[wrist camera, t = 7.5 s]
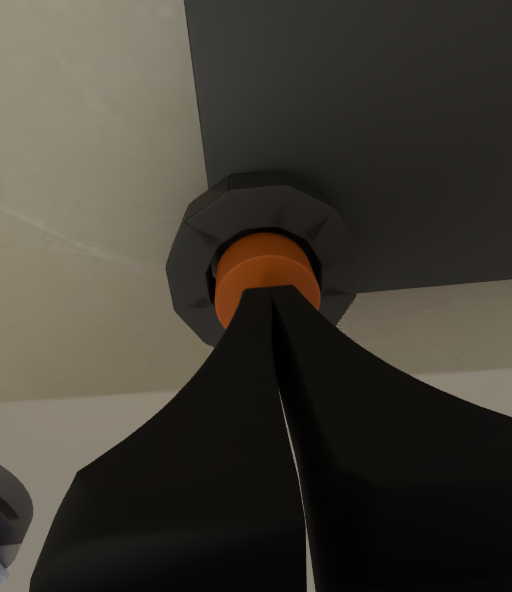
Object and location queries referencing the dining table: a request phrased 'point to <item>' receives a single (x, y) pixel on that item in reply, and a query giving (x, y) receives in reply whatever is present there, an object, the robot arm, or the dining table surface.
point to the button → (261, 271)
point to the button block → (351, 144)
